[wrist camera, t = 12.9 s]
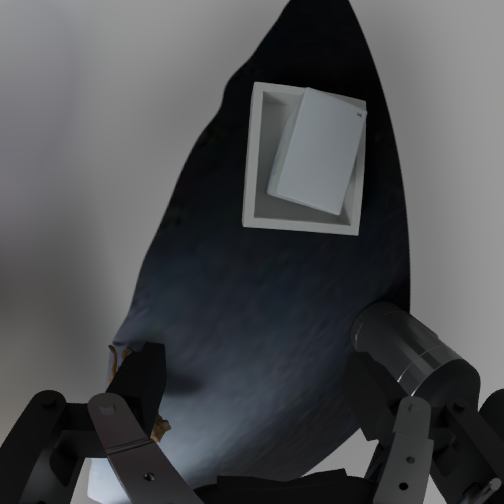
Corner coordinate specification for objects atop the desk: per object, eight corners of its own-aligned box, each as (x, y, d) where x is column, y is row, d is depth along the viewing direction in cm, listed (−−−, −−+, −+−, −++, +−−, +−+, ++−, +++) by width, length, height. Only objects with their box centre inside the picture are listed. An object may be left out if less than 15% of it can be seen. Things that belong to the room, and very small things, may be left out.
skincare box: (285, 113, 31) (306, 83, 21) (333, 131, 32) (371, 111, 22) (261, 193, 33) (273, 194, 23) (311, 209, 34) (343, 217, 24)
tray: (349, 111, 32) (365, 101, 27) (342, 229, 35) (357, 235, 31) (251, 96, 31) (254, 81, 26) (241, 221, 34) (243, 226, 30)
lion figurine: (181, 403, 40) (173, 442, 31) (157, 412, 40) (147, 450, 31) (121, 336, 37) (98, 370, 28) (99, 349, 37) (75, 382, 28)
